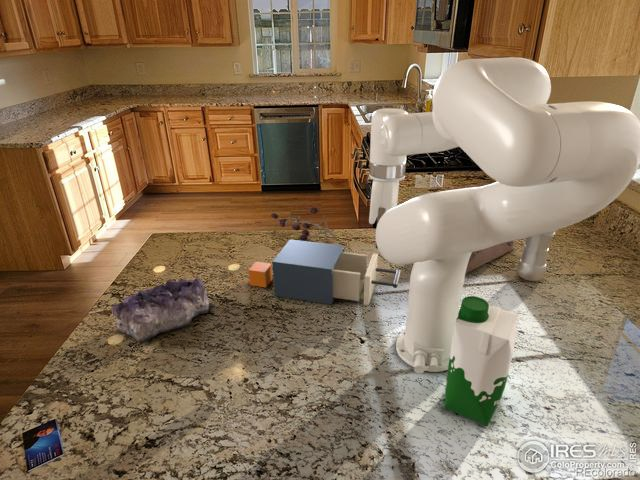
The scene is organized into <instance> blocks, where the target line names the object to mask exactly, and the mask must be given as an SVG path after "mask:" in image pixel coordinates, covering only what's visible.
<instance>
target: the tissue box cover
mask: <svg viewBox="0 0 640 480" xmlns="http://www.w3.org/2000/svg"><path fill="white" fill-rule="evenodd" d="M514 243H515V240H514V241H509V242H504V243H501V244H497V245H494V246H492V247H489V248H486V249H483V250H479V251H474V252H472V253H471V256H470V258H469V261H468V265H467V268H466V273H465V275H466V274H468V273H469V272H471V271H474V270H475V269H477V268H479V267H481V266H483V265H485V264H487V263H489V262H492V261H493V260H495V259H497V258H499V257H501V256H503V255H505V254H506V253H509V252H511V251H512V250H513V247H514Z"/></svg>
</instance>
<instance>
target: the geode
mask: <svg viewBox="0 0 640 480" xmlns="http://www.w3.org/2000/svg"><path fill="white" fill-rule="evenodd" d="M209 294H210V292H208V291H207V289H206V287H205V284H204V282H203V281H202V279H201V278H200V277H195V278H194V279H193V280H189V279H185V278H180V279H179V280H178V281H177V280H175V281H173V280H171V279H167V280H166V282H165V284H163V283H161V284H159V285H156V286H154V287H151V288H148V289H145V290H142V289H139V290H138V292H136V293H134V294H133V295H131V294H130V295H128V296H126V297H125V298H124V300H123V301H122V302H119V303H117V304H116V303H115V304H114V305H112V306H111V313H112V315H113V316H115V317H116V319H115V320H116V321H115V323H116V329H117V331H119V332H121V333H123V334H126V335H128V336H130V337H132V338H133V339H134V340H135V341H136V342H138V343H143V342H146V341H149V340H151V339H152V338H153V337H156V336H157V335H159V334H161V333H166V332H167V333H168V332H170V331H174V330H175V329H181V328H184V327H187V326H188V325H190V324H191V323H192V320H193V319H194V318H196V317H198V316H199V315H203V314H204V315H205V314H208V313H209V310H210V308H211V305H210V302H209Z"/></svg>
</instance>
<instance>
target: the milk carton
mask: <svg viewBox="0 0 640 480" xmlns="http://www.w3.org/2000/svg"><path fill="white" fill-rule="evenodd" d="M518 319H519V314H518V313H516V312H512V311H508V310H506V309H502V308H501V307H498V306H493V305H490V304H489V302H488V301H487V300H486V299H484V298H482V297H479V296H475V295H474V296H473V295H469V296H465V297H463V298H462V299H461V303H460V308H459V313H458V317H457V319H456V322H455V326H454V334H453V340H452V346H451V352H450V359H449V365H448V370H447V371H446V372H447V373H446V381H445V382H446V383H445V393H444V395H445V396H444V409H445V410H448V411H451V412H452V413H454V414H457V415H459V416H461V417H462V416H463V417H465V418H467V419H469V420H471V421H473V422H476V423H479V424H481V425H484V426H486V427H488V426H489V424H490V423H491V420H492V418H493V415H494V414H495V412H496V409H497V408H498V406H499V404H500V401H501V400H502V397H503V394H504V391H505V389H506V385H507V381H508V377H509V372H510V368H511V364H512V360H513V356H514V350H515V345H516V338H517V327H518Z"/></svg>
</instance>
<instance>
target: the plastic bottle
mask: <svg viewBox="0 0 640 480" xmlns="http://www.w3.org/2000/svg"><path fill="white" fill-rule="evenodd" d="M555 234H556V230H555V231H551V232H547V233H543V234H539V235H535V236H530V237H527V238H525V239H524V246H523V250H522V255H521V257H520V259H519V262H518V263H517V269H516V271H517V274H518V276H519V277H520V278H521V279H523V280H526V281H529V282H539V281H541V280H542V279H543V278H544V277H545V275H546V274H547V258H548V252H549V249H550V245H551V243H552V240H553V237H554V235H555Z"/></svg>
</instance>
